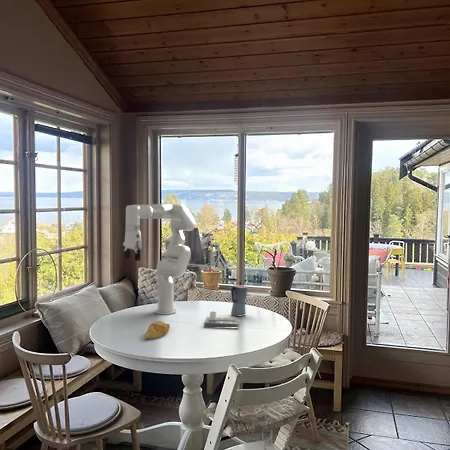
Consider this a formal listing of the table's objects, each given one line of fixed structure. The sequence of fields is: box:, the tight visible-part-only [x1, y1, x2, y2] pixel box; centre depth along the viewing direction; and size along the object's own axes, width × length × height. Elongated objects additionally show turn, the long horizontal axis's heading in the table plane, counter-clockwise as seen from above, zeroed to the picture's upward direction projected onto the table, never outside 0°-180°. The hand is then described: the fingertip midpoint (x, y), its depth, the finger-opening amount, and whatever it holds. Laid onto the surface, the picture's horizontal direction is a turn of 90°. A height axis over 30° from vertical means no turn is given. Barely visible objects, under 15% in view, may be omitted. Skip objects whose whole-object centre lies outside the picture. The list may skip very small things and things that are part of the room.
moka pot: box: [230, 281, 249, 316], centre depth 275 cm, size 10×15×20 cm, turn 148°
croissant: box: [144, 320, 171, 340], centre depth 232 cm, size 21×10×8 cm, turn 157°
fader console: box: [203, 316, 240, 328], centre depth 253 cm, size 12×18×3 cm, turn 86°
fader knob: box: [209, 309, 217, 321], centre depth 253 cm, size 4×3×7 cm
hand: (132, 259), depth 250 cm, fingers open, 9 cm apart
